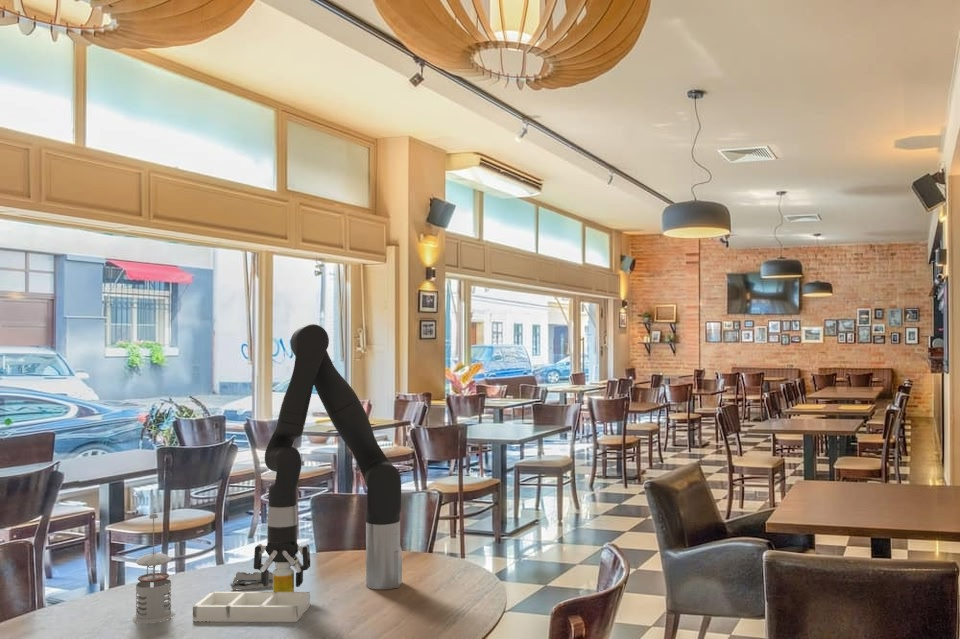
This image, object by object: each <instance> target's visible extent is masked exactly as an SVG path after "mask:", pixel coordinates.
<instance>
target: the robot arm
mask: <svg viewBox="0 0 960 639" xmlns="http://www.w3.org/2000/svg"><path fill="white" fill-rule="evenodd" d="M290 337H291V338H290V348H291V351H292V353H293V355H294V356H295V357H294V365H293V370H292V374H291V378H290V380H289V383H288V386H287V389H286V391H285V394H284V397H283V399H282V403H281V405H280V411H279V414H278V417H277V422H276V427H275V429H274V431H273V433H272V435H271V437H270V439H269V442H268V443H267V446H266V449H265V452H264V464H265V466H266V467H267V468H268V470H270V471H272V472H276V474H275V479H274V480H275V481H274V482H273V483H271V484H270V485H269V487H268V488H269V489H268V509H267V510H268V511H267V518H266V525H267V529H266V530H267V533H266V536H267V537H266V538H267V539H266V540H267V541H266V542H267V543H266V545H263V544H261V543H259V544H258V545H256V546H255V547H254V556H253V570H258V571H260V573H261V580H260V581H261V583H262V584H263V586H268V584H269V581H270V580H269V572H270V571H269V570H268V569H269V568H270V566H271V565H272V563H273V562H274V563H275V562H289V563H290V564H291V567H293V569H294V570H295V571H296V572H295V587H297V588H299V587H300V586H301V585H302V584H303V582H304V571H308V569H309V568H310V567H311V552H310V545H309V544H305V545H298V510H297V487H298V484H299V479H300V476H301V470H302V456H301V453H300V451H299V450H298V449H297V448H296V447H293V444H294V442H295V440H296V439H298V438H300V437H301V436H302V435H303V432H304V429H305V425H306V420H307V416H308V411H309V407H310V403H311V398H312V393H313V390H314V389H315V391H316V393H317V395H318V398H319V399H320V402H321V403H322V405H323V407H324V409H325V412H326V413H327V416H328V417H329V419H330V421H331V423H332V425H333V426H334V428H335V430H336V431H337V433H338V435H339V436H340V437H341V440H342V441H343V442H344V443H345V444H346V446H347V448H349V450H350V451H351V453H352V455H353V456H354V459H355V461H356V463H357V465H358V468H359V470H360V473H361V475H362V476H361V477H362V478H363V480H364V484H365V486H366V512H365V554H366V555H365V557H366V558H365V560H366V561H365V563H366V564H365V565H366V566H365V569H366V571H365V572H366V574H365V575H366V576H365V580H366V584H365V585H366V587H367V588H369V589H371V590H390V589H399V588H400V586H401V584H402V582H403V567H402V566H403V564H402V563H403V561H402V560H403V559H402V556H403V552H402V546H401V510H402V476H401V473H400V472H399V470H398V468H397V467H396V466H394V464H392V462H390V460H389V458H388V457H387V456H386V454H385V453H384V451H383V450H382V448H381V447H380V445H379V443H378V441H377V439H376V436H375V434H374V432H373V431H374V430H373V429H372V428H373V427H372V424H371V422H370V419H369V417H368V415H367V412H366V410H365V408H364V406H363V405H362V402H361V401H360V399H359V396H358V395H357V393H356V392H355V391H354V389H353V388H352V387H351V384H349V383H348V381H346V379H345V378H344V377H343V376H342V375H341V374H340V373H339V371H338V369H337V368H336V366H334V363H333V361H332V358H331V357H330V355H329V353H328V347H329V344H330V338H329V334H328V332H327V331H326V329H325V328H323V326H321V325H318V324H315V323H311V324H310V323H309V324H306V325H303V326H301V327H300V328H298V329H297V330H295V331H294V332H293V333H292V336H290ZM265 551H266V554H267V555H268V556H269V557H268V558H267V559H266V560H265V562H264V563H263V564H262V561H263V560H262V558H263V557H262V556H263V554H264V553H265ZM298 552H300V555H301V556H302V563H301V561H300V559H299V557H298V556H297V555H296V554H297V553H298Z"/></svg>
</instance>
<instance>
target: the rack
mask: <svg viewBox="0 0 960 639" xmlns="http://www.w3.org/2000/svg"><path fill="white" fill-rule="evenodd" d="M310 593H311V592H310V591H294V592H273V591H211V592H209V593H208V594H207V595H206V596H204V597H203V598H202V599H201V600H199V601H198V602H197V603H195V605H193V606H192V622H194V621H195V622H197V621H199V622H202V621H203V622H204V623H205V621H207V622H208V623H210V622H211V623H212V622H213V623H214V622H215V623H216V622H217V623H219V622H220V623H224V622H225V623H226V622H227V623H232V622H234V623H235V622H236V623H241V622H242V623H243V622H244V623H248V622H249V623H251V622H252V623H297V622H298V621H299V620H300V619H301V617H302V616H303V615H304V614H305V613H306V611H307V610H308V609H309V608H310V607H311V598H310V597H311V594H310ZM209 621H210V622H209Z"/></svg>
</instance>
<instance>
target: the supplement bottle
mask: <svg viewBox="0 0 960 639" xmlns="http://www.w3.org/2000/svg"><path fill="white" fill-rule="evenodd" d="M274 566H275V569H274V570H273V571H272V574H273V580H272V581H273V587H272V592H295V571H294V570H295V569H294V568H292V565H291V564H290V563H289V562H274Z"/></svg>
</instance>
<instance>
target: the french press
mask: <svg viewBox="0 0 960 639" xmlns="http://www.w3.org/2000/svg"><path fill="white" fill-rule="evenodd" d="M158 516H159V515H158V514H157V513H155V512H153V513H150V514H149V519H152V552H151V553H146V554H144V555H142V556H140V557H139V558H138V559H136V560H135V564H137V565H138V566H142V567H146V573H145V574H142V575H140V576H138V578H137V580H138V581H139V582H137V583H136V585H135V591H136V593H135V597H136V598H135V615H134V616H133V617H132V618H133V619H131V621H132V620H133V621H134V622H133V621H132V622H133V623H135V622H138V623H137V624H139V623H146V624H145V625H147V624H148V623H150V624H157V623H156V622H158V623H161V622H160V621H163V622H165V621H164V620H166V621H168V620H167V619H169V620H171V619H172V618H171V617H173V616H174V615H176V613H175V612H174V611H173V610H172V593H171V592H172V588H171V587H172V581H171V580H170V579H168V578H169V577H170V574H169V573H167V572H156V567H157V566H160V565H161V566H162V565H165V564H168V563H170V562H171V560H172V557H171V556H169V555H168V554H165V553H161V552H155V519H157V518H158ZM149 569H152V572H149ZM151 583H153V586H151ZM174 617H175V616H174ZM174 617H173V618H174ZM170 618H171V619H170ZM148 625H149V624H148Z"/></svg>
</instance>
